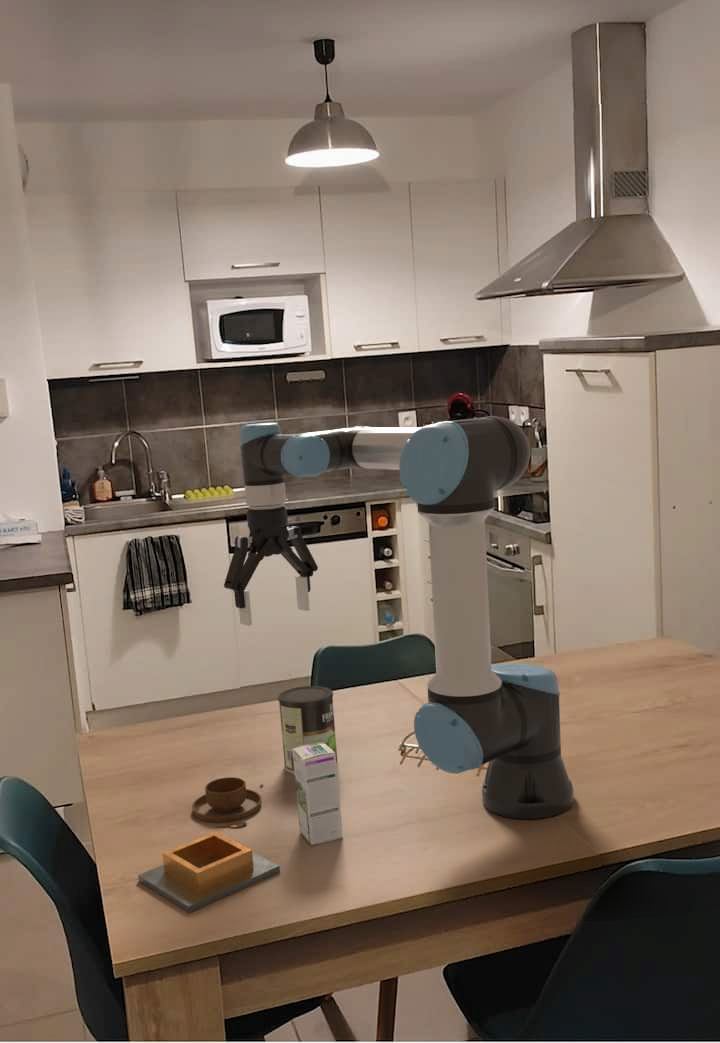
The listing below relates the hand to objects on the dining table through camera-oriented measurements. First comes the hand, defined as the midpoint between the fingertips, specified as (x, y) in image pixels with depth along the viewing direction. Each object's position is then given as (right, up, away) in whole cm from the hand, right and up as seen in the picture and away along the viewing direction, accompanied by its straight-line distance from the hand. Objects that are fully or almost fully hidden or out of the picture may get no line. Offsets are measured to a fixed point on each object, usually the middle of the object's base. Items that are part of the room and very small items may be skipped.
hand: (275, 617), depth 202 cm
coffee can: (+7, -28, 0) cm, 29 cm away
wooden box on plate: (-7, -35, -42) cm, 55 cm away
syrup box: (+10, -33, -31) cm, 46 cm away
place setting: (-3, -32, -17) cm, 36 cm away
